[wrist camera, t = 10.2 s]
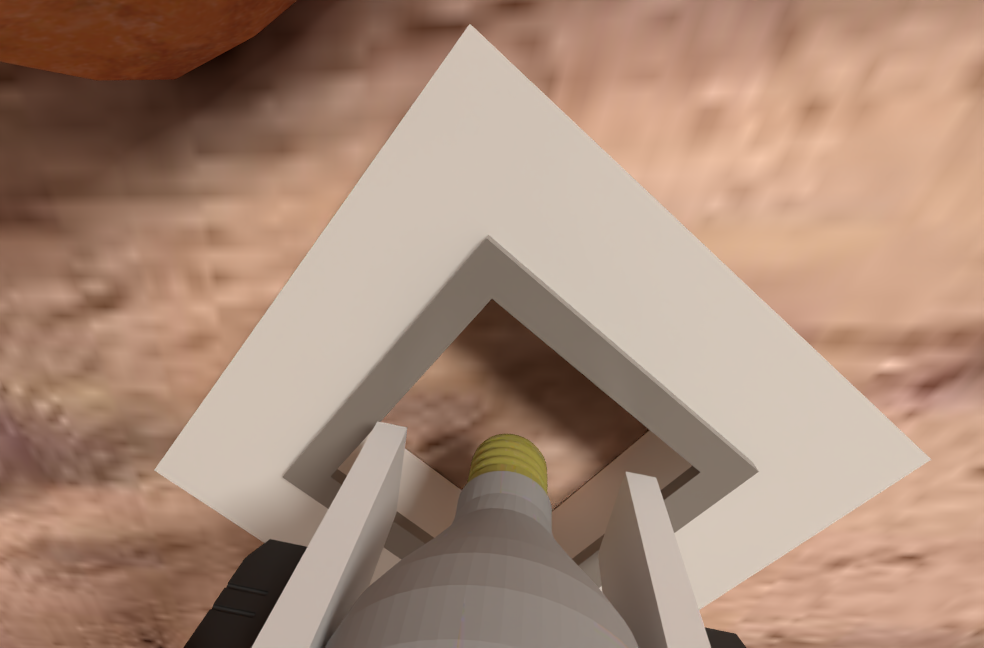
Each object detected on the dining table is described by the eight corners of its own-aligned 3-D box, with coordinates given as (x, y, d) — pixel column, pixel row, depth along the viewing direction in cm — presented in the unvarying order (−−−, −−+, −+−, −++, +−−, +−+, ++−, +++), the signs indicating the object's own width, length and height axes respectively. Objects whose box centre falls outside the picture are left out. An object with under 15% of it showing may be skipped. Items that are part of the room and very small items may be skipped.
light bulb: (543, 330, 13) (546, 837, 4) (642, 483, 14) (820, 1127, 5) (378, 420, 14) (86, 944, 5) (482, 551, 16) (397, 1148, 7)
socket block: (207, 422, 18) (144, 479, 15) (483, 43, 13) (467, 19, 10) (532, 647, 20) (530, 731, 17) (869, 406, 15) (943, 469, 12)
